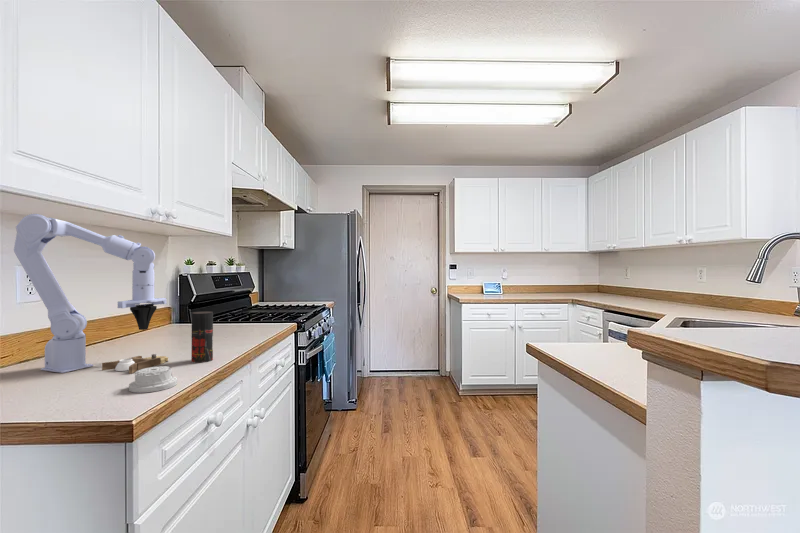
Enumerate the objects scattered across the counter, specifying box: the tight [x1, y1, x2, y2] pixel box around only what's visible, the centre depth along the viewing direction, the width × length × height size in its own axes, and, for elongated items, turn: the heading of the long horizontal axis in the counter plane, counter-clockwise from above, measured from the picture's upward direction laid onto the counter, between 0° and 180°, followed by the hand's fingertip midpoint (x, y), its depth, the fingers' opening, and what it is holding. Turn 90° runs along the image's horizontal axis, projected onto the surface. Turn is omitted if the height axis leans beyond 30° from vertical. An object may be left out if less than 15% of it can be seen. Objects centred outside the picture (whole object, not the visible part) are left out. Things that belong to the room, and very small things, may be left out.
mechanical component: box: [128, 365, 178, 394], centre depth 94 cm, size 10×4×10 cm
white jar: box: [114, 357, 135, 372], centre depth 110 cm, size 5×3×5 cm
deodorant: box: [191, 311, 214, 364], centre depth 120 cm, size 6×6×15 cm
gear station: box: [101, 353, 169, 375], centre depth 114 cm, size 12×15×2 cm
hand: (143, 329), depth 119 cm, fingers closed
